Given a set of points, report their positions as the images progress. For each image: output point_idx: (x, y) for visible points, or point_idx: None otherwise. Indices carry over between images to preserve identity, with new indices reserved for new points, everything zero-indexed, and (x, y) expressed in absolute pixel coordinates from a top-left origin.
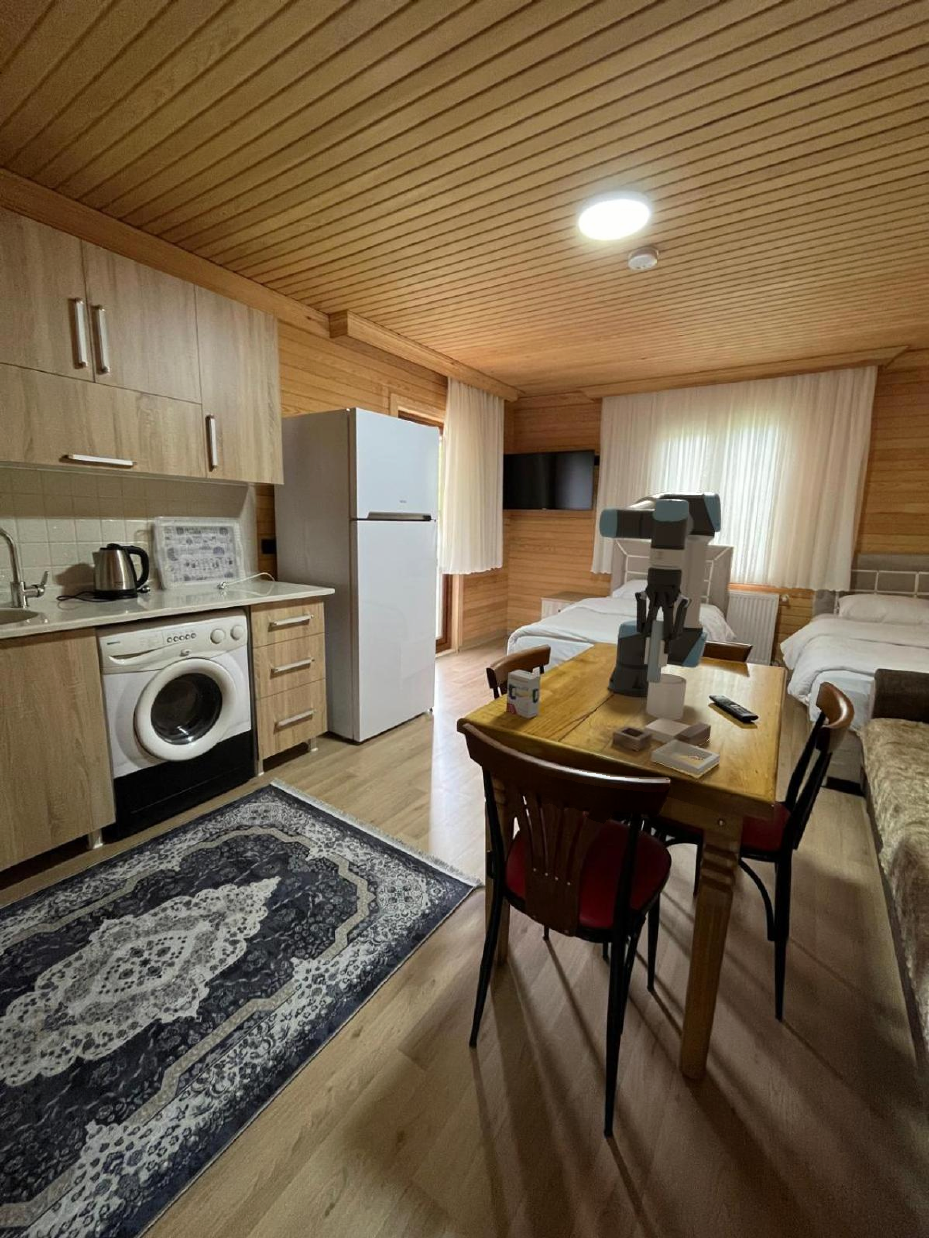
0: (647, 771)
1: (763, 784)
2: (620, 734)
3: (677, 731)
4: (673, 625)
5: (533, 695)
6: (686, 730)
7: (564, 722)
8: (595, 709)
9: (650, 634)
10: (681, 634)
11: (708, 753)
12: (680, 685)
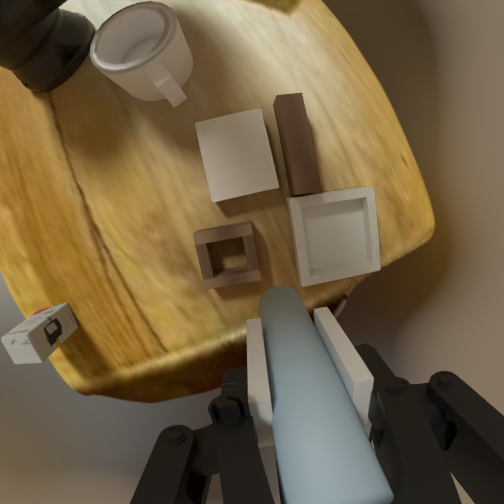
0: None
1: (425, 194)
2: (222, 286)
3: (266, 158)
4: (436, 443)
5: (55, 337)
6: (292, 162)
7: (105, 289)
8: (78, 187)
9: (255, 434)
10: (463, 388)
11: (358, 197)
12: (176, 34)
